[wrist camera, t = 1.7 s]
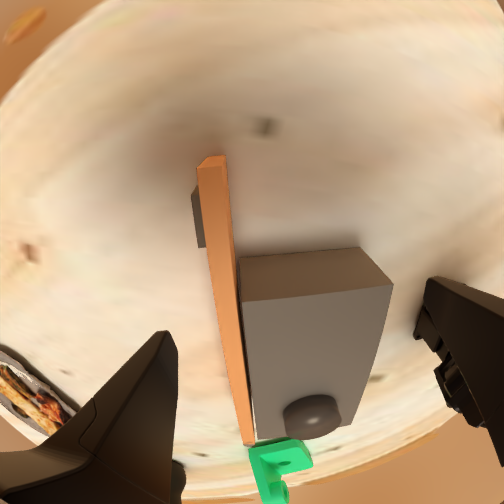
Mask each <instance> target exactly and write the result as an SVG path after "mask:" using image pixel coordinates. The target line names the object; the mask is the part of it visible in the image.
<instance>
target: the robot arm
mask: <svg viewBox="0 0 504 504" xmlns="http://www.w3.org/2000/svg"><path fill="white" fill-rule="evenodd" d="M413 337H414V339H415V340H419V339H422V338H423V339H424V341H425V342H426V343H427V345H428V346H429V347H430V349H431V350H432V352H434V353H435V352H436V353H437V355H438V356H439V358H440V359H441V360H442V363H441V364H440V365H439V366H438V367H436V368H435V369H434V373H435V375H436V379H437V382H438V384H439V386H440V389H441V391H442V394H443V396H444V399H445V401H446V405H447V406H448V407H449V408H453V409H454V410H455V411H456V412H458V413H462V414H463V416H464V417H465V419H466V421H467V423H468V424H469V425H471V426H473V427H476V428H478V427H479V426H481V427H484V428H487V429H488V432H489V435H490V437H491V439H492V442H493V445H494V447H495V450H496V453H497V456H498V459H499V462H500V464H501V466H502V467H504V299H502V298H499V297H497V296H494V295H491V294H488V293H486V292H483V291H480V290H477V289H475V288H472V287H469V286H467V285H465V284H460V283H457V282H455V281H452V280H449V279H446V278H443V277H440V276H433V277H430V278H428V279H427V281H426V287H425V292H424V304H423V308H422V311H421V314H420V318H419V321H418V324H417V327H416V330H415V333H414V336H413ZM93 397H94V398H91V399H90V400H89V401H88V402H87V403H86V404H85V405H84V406H83V407H82V408H81V409H80V410H79V411H78V412H77V413H76V414H75V415H74V416H73V417H72V418H71V419H70V420H68V421H67V422H66V423H65V424H64V425H63V426H62V427H60V428H59V429H58V430H57V431H56V432H55V433H54V434H52V435H51V436H50V437H49V438H48V439H47V440H45V441H44V442H43V443H42V444H40V445H39V446H37V447H36V448H33V449H30V450H26V451H14V452H0V504H169V502H170V482H171V466H172V452H173V440H174V429H175V419H176V409H177V400H178V350H177V347H176V345H175V343H174V340H173V338H172V336H171V334H170V332H169V331H167V330H164V331H157V332H156V333H154V334H153V335H152V336H151V337H150V338H149V340H148V341H147V342H146V343H145V344H144V345H143V346H142V347H141V348H140V349H139V350H138V351H137V352H136V353H135V354H134V355H133V356H132V357H131V358H130V359H129V360H128V361H127V362H126V363H125V364H124V365H123V366H122V367H121V368H120V369H119V370H118V371H117V372H116V373H115V374H114V375H113V376H112V377H111V378H110V379H109V380H108V381H107V383H106V384H105V385H104V386H103V387H102V388H101V389H100V390H99V391H98V392H97V393H96V394H95V395H94V396H93ZM500 504H504V501H503V502H502V503H500Z"/></svg>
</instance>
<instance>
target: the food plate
mask: <svg viewBox="0 0 504 504" xmlns="http://www.w3.org/2000/svg"><path fill="white" fill-rule="evenodd" d="M0 361H2V362H5V363H8V364H10V365H12V366H13V367H15V368H16V369H18V370H20V371H21V372H23V373H26V375H27V376H29V377H30V378H31V379H32V380H33V381H32V383H31V382H30V381H29V380H28V379H27V377H26V376H24V375H23V374H22V376H23V377H24V378H25V379H24V378H21V377H20V376H19V377H18V376H17V375H16V374H17V373H16V374H15V373H14V372H13V371H12V370H11V369H10V368H9V367H8V366H4V365H0V403H1V404H2V405H3V406H4V407H5V406H6V407H7V408H8V409H7V408H6V407H5V408H6V409H7V410H8V411H10V412H11V413H12V414H14V415H15V416H16V417H17V418H19V419H20V420H21V419H22V421H24V423H25V422H26V424H27V425H29V426H30V427H32V428H33V429H35V430H37V431H38V432H40V433H42V434H44V435H46V436H48V437H50V436H51V435H52V434H54V433H55V432H56V431H57V430H58V429H59V428H60V427H62V426H63V425H64V424H65V423H66V422H67V421H68V420H70V419H71V418H72V417H73V416H74V415H75V414H76V413H77V412H76V411H74V410H73V409H70V408H71V407H70V408H69V407H68V406H69V405H68V406H67V405H66V404H65V403H64V402H63V401H61V399H60V398H59V397H58V395H57V394H56V393H55V392H54V391H53V390H50V388H51V387H50V386H49V385H47V384H45V383H43V382H41V381H40V380H38V379H37V378H36V377H35V376H34V375H32V374H28V371H26V370H25V369H24V367H23V366H22V364H20V363H19V362H18V361H16V360H14V359H12V358H11V357H9V356H8V355H7V354H5V353H4V352H2V351H0ZM20 374H21V373H20ZM18 375H19V374H18ZM19 378H20V379H19ZM35 381H36V382H35ZM35 383H36V384H37V385H36V384H35ZM39 386H40V387H39Z"/></svg>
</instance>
